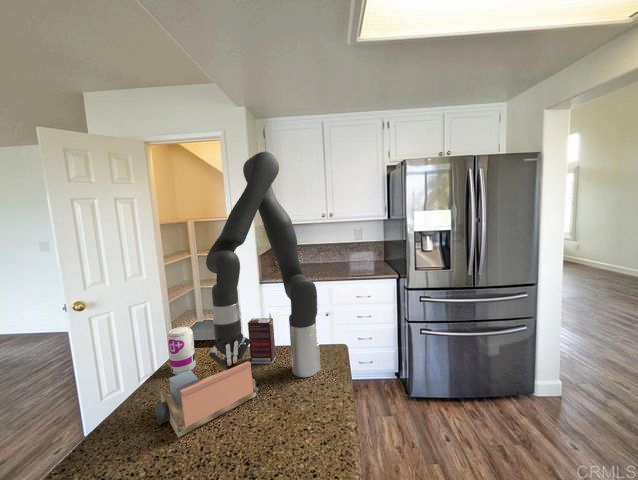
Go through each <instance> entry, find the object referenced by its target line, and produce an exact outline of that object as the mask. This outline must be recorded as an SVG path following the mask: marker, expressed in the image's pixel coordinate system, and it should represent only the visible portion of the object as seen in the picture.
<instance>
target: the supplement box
mask: <svg viewBox="0 0 638 480" xmlns="http://www.w3.org/2000/svg"><path fill="white" fill-rule="evenodd" d="M247 327H248V328H247V330H248V339H250V344H249V350H250V351H249V352H250V353H249V354H250V362H251V364H270V365H271V364H273V363H274V362H275V360H276V358H277V357H276V355H277V354H276V342H275V329H274V318H272V317H269V318H268V317H267V318H254V317H252V318H251V319H250V320H249V321H248V322H247Z"/></svg>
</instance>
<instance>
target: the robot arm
mask: <svg viewBox="0 0 638 480" xmlns="http://www.w3.org/2000/svg"><path fill="white" fill-rule="evenodd" d="M242 171H243V177H244V180H245V181H246V186H245V187H244V190H243V191H242V193H241V195H240V196H239V198H238V200H237V201H236V203H235V204H234V206H233V207H232V209H231V210H230V213H229V215H228V217H227V218H226V221H225V224H224V226H223V228H222V230H221V233H220V234H219V236H218V238H217V239H216V240H215V242H214V243H213V245H212V246H211V248H210V250H209V251H208V253H207V256H206V259H205V264H206V268H207V270H208V271H209V272H211V273H213V274H216V281H215V282H216V283H214V285H213V286H212V288H211V297H212V320H213V322H212V323H213V331H214V333H213V334H214V342H213V346H212V347H211V349H210V350H209V349H208V350H207V351H206V354H207V355H208V356H209V357H210V358H211V359H212V360H213V361H215V362H216V363H217V364H219V365H220V366H221V367H225V368H224V369H225V370H229V369H231V368H233V367H236V366H238V365H237V363H238V361H239V360H242V359H243V357H244V355H245V353H246V351H247V349H248V348H249V346H250V339H249V337H246V336H245V337H244V334H243V333H242V330H243V329H242V318H241V316H242V313H241V308H240V302H239V290H238V286H239V280H240V274H241V262H240V259H239V256H238V254H237V253H235V251H236V249H237V248H238V247H240V246H242V245H244V243H245V241H246V239H247V238H248V237H247V236H248V235H249V232H250V229H251V227H252V225H253V222H254V219H255V217H256V214H257V212H258V213H259V215H260V218H261V221H262V225H263V227H264V231H265V234H266V238H267V239H268V243H269V245H270V247H271V250H272V252H273V255H274V258H275V260H276V262H277V264H278V266H279V271H280V274H281V275H280V276H281V278H282V282H283V288H284V292H285V294H286V296H287V298H288V299H289V300H290V314H289V317H288V323H289V341H290V352H291V353H290V355H291V370H292V374H293V375H294V376H295V377H298V378H310V377H312V376H315V375H316V374H317V373H319V372H321V354H320V352H321V351H320V344H319V342H318V337H317V335H318V332H317V315H318V292H317V291H318V290H317V287H316V283H314V282H313V280H311V279H309V278H307V277H306V275H305V273H304V270H303V268H302V266H301V262H300V261H299V252H298V251H299V247H298V239H297V234H296V231H295V228H294V225H293V222H292V219H291V217H290V216H289V214H288V212H287V211H286V209H284V208H283V207H284V206H282V205H281V204H280V202H279V201H278V199H277V197H276V195H275V193H274V190H273V186H272V184H273V183H274V182H275V179H276V178H277V176H278V174H279V171H280V165H279V161H278V159H277V157H276V156H275V155H274V154H272V153H271V152H269V151H268V152H267V151H261V152H258V153H256V154H254V155H253V156H251V157H250V158H248V159H247V160H246V161H245V162H244V163H243V167H242ZM217 350H218V351H217ZM218 352H219V353H221V354H222V356H223V358H221V357H219V356H218Z"/></svg>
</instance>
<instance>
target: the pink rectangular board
mask: <svg viewBox="0 0 638 480" xmlns="http://www.w3.org/2000/svg"><path fill="white" fill-rule="evenodd" d="M225 370H226V369H225ZM223 371H224V370H223ZM221 372H222V371H221ZM218 373H219V372H218ZM251 373H252V363H251V361H249V360H247V361H245V362H243V363H240V364H239V365H237V366H236V367H233V368H231V369H229V370H226V371H224V372H222V373H219V374H217V373H216V374H217V375H215V374H214V375H215V376H212V375H211V376H212V377H210V376H209V377H210V378H208V377H207V378H208V379H205V378H204V379H205V380H203V379H202V380H203V381H201V380H200V381H201V382H198V383H196V384H194V385H191V386H189V387H187V388H184V389H182V390H180V394H181V402H182V411H183V420H184V426H185V428H186V427H187V426H189V425H191V424H193V423H195V422H197V421H199V420H201V419H203V418H205V417H207V416H209V415H210V414H212V413H214V412H216V411H218V410H220V409H222V408H224V407H226V406H228V405H230V404H232V403H233V402H235V401H237V400H239V399H241V398H243V397H245V396H247V395H249V394H251V393H253V384H252V378H253V374H251Z"/></svg>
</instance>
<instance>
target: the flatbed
mask: <svg viewBox="0 0 638 480" xmlns="http://www.w3.org/2000/svg"><path fill="white" fill-rule="evenodd" d="M224 371H226V369H224V370H222V371H219V372H217V373H215V374H213V375H210V376H207V377H205V378H204V379H201V380H198V381H199V382H201V381H203V380H205V379H208V378H210V377H212V376H215V375H217V374H219V373H222V372H224ZM251 374H252V372H251ZM252 375H253V374H252ZM252 384H253V393H251V394H249V395H247V396H245V397H243V398H241V399H239V400H237V401H235V402H233V403H232V404H230V405H228V406H226V407H224V408H222V409H220V410H218V411H216V412H214V413H212V414H210V415H209V416H207V417H205V418H203V419H201V420H199V421H197V422H195V423H193V424H191V425H189V426H187V427H186V428H185V426H184V420H183V411H182V403H181V404H179V405H177V403H176V402H175V400H174V398H173V397H172V395H171V392H170V393H168V394H167V392H166V390H165V389H162V390H160V391H159V392H160V400H161V402H160V403H158V404H156V405H154V413H155V417H156V422H157V425H158V426H161V425H163V424H165V423H167V422H169V423H170V425H171V427H172V429H173V431H174V432H175V434H176V436H177V438H180V437H182V436H184V435H186V434H188V433H190V432H191V431H194V430H195V429H197V428H199V427H201V426H202V425H204V424H207V423H209V422H210V421H211V420H213V419H215V418H218V417H220V416H221V415H224V414H225V413H227V412H229V411H231V410H233V409H234V408H236V407H238V406H240V405H242V404H244V403H246V402H248V401H250V400H251V399H254V398H255V397H257V392H258V391H259V388H258V387H257V386H256V379H254V378H253V377H252Z"/></svg>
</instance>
